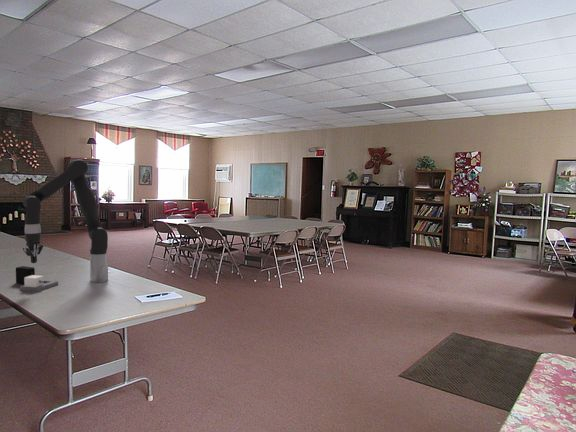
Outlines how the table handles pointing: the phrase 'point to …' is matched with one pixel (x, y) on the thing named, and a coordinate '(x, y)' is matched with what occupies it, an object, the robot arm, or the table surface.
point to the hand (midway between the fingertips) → (34, 262)
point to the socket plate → (46, 285)
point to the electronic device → (23, 273)
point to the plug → (33, 281)
